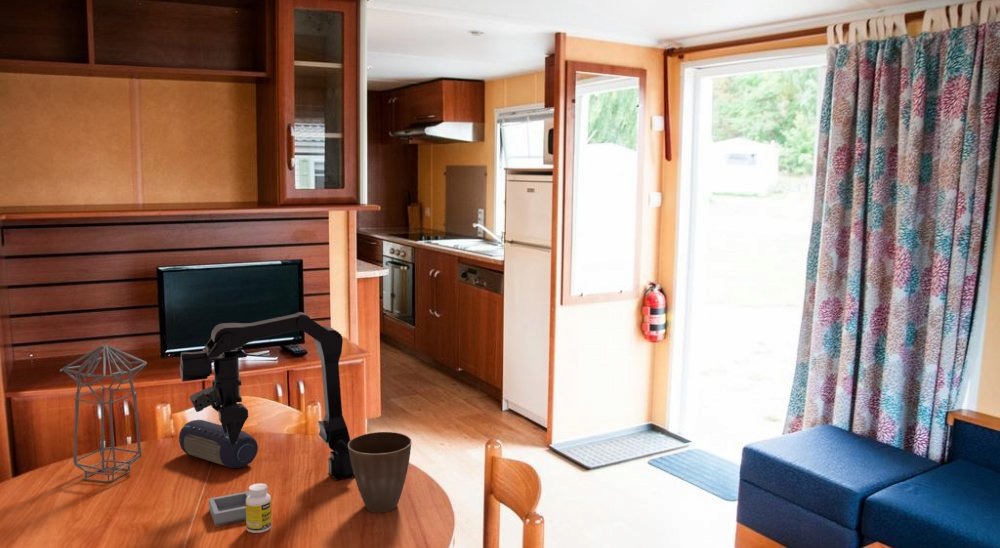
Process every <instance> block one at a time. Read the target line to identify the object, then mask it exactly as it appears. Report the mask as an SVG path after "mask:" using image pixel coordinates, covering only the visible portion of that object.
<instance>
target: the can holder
mask: <svg viewBox="0 0 1000 548" xmlns="http://www.w3.org/2000/svg"><path fill="white" fill-rule="evenodd" d="M248 496H249V490H247V491H241V492H237V493H231V494H226V495H221V496H215V497H211V498H208V511H209V513H210V516H211V519H212V521H213V524H214V526H215V527H219V526H220V527H221V526H226V525H230V524H234V523H239V522H244V521H246V498H247V497H248Z"/></svg>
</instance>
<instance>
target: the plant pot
mask: <svg viewBox="0 0 1000 548" xmlns="http://www.w3.org/2000/svg"><path fill="white" fill-rule="evenodd" d="M412 442H413V441H412V438H411V437H410V436H408V435H406V434H405V433H404V434H403V433H400V432H392V431H376V432H370V433H365V434H360V435H358V436H355V437H353V438H351V440H350V441H349V443H348V450H349V456H350V461H351V465H352V469H353V473H354V477H353V478H354V479H355V482H356V485H357V488H358V492H359V494H360V497H361V499H362V502H363V504H364V506H365V508H366V510H368V511H370V512H372V513H378V514H381V513H388V512H391V511H393V510H395V509H396V508H397V506H398V504H399V502H400V499H401V496H402V494H403V493H402V492H403V489H404V486H405V482H406V478H407V474H408V470H409V469H408V468H409V463H410V458H411V450H412Z"/></svg>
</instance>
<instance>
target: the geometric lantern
mask: <svg viewBox="0 0 1000 548" xmlns="http://www.w3.org/2000/svg"><path fill="white" fill-rule="evenodd" d="M101 352H102V354H103V355H102V357H101V356H100V355H101ZM125 357H127V358H130V359H132V360H134V361H131V362H130V361H129V360H128V359H127V358H125ZM86 358H87V359H86ZM84 359H86V360H85V361H83V363H81V365H75V364H77V363H78V362H81V361H82V360H84ZM101 360H102V369H103V370H102V374H101V373H100V374H93V373H94V372H95V370H96V369H97V367H98V365H99V363H100V362H101ZM106 360H107V361H106ZM106 362H107V363H108V368H109V375H106V372H107V371H106V370H107V369H106V368H107V367H106ZM117 363H120V364H121V368H120V367H119V366H118V364H117ZM126 364H127V365H129V367H128V366H127V365H126ZM134 364H135V365H136V364H140V365H138V366H135V367H133V365H134ZM147 364H148V363H147V361H146V360H143V359H140V358H139V357H136V356H134V355H131V354H130V353H127V352H124V351H122V350H121V349H117V348H115V347H113V346H111V345H108V344H101V345H100V346H98V347H97V348H94V349H93V350H91V351H89V352H88V353H86V354H84V355H83V356H81V357H79V358H77V359H76V360H74V361H72V362H71V363H69V364H67V365H65V366H64V367H62V368H60V369H59V373H62V372H64V373H65V374H67V376H69V377H70V378H71V379H72V380H74V382H76V385H77V386H76V387H77V388H76V395H75V398H74V399H73V400H74V443H73V444H74V445H73V458H72V459H73V460H72V461H73V465H74V466H75V467H77V468H78V469H79V470H82V471H83V472H84V478H83V479H84V480H85V481H89V482H90V481H92V482H99V483H100V482H102V483H111V482H114V481H115V480H117V479H119V478H121V477H123V476H124V475H127V474H128V473H130V472H131V465H133V464H134V463H135V462H136V461H138V460H139V459H140V458H142V456H143V455H142V447H141V446H142V445H141V437H140V430H139V427H140V426H139V415H138V401H137V392H136V389H135V385H134V382H133V379H134V378H135V377H136V376H137V374H138V373H139V372H141V371H142V369H144V368H145V366H147ZM73 365H75V366H73ZM111 365H113V366H114V368H115V369H116V371H117V372H112V367H111ZM86 367H87V371H86V372H85V373H83V372H82V371H84V369H85V368H86ZM132 367H133V368H132ZM124 368H125V369H126V370H127V371H126V370H124ZM74 369H78V370H74ZM72 374H74V375H75V376H74V375H72ZM132 374H133V375H132ZM123 375H128V376H129V377H128V379H126V380H124V381H123ZM87 377H88V378H91V377H93V378H94V380H92V381H91V382H89V383H88V382H87ZM106 377H107V378H110V377H111V378H114V379H113V380H112V382H111V383H110V385H109V386H108V387H105V386H104V385H103V384H102V382H100V381H99V380H101V379H103V378H106ZM119 377H120V378H119ZM82 378H83V379H84V383H82V382H81V380H82ZM116 381H117V382H118V383H119V384H118V386H117V387H116V388H113V385H114V383H116ZM96 382H98V384H99V385H100V386H101V387H100V388H98V389H93V387H92V386H91V385H92V384H95V383H96ZM126 383H129V386H130V389H129V390H128V389H121V388H120V387H121V385H124V384H126ZM82 386H86V387H88V389H89V391H88V392H86V393H82V394H80V393H81V390H82ZM107 390H109V392H108V393H109V394H108V395H109V399H108V401H105V391H107ZM98 391H101V399H100V397H99V396H98V395H97V393H96V392H98ZM112 391H114V392H113V393H112ZM117 391H121V392H126V393H127V392H128V393H132V394H129V395H124V396H123V397H120V398H118V399H115V400H113V397H114V395H116V393H117ZM89 394H93V395H94V397H95V398H96V400H97V401H93V400H86V399H80V398H81V397H83V396H86V395H89ZM129 397H132V401H133V410H134V418H135V429H136V441H137V442H136V444H137V450H134V449H133V450H132V449H125V448H119V447H115V437H114V436H115V435H114V426H113V425H114V424H113V403H115V402H118V401H121V400H123V399H126V398H129ZM80 402H86V403H90V404H91V403H92V404H99V405H100V420H101V421H100V441H99V443H100V448H99V449H96V450H94V451H91V452H90V453H87V454H84V455H83V456H80V457H78V458H77V456H78V455H77V452H78V429H79V428H78V427H79V412H80V411H79V410H80ZM104 405H108V412H109V413H108V414H109V425H110V443H111V444H110V447H105V430H104V428H105V427H104V426H105V425H104V424H105V423H104V421H105V419H104V418H105V417H104V413H105V411H104V408H105V406H104ZM105 450H106V451H107V450H109V452H108V454H107V457H106V459H105ZM116 451H121V452H128V453H134V454H135V455H134V456H133V457H132V458H130V459H129V460H126V461H119V460H116ZM99 452H100V453H99ZM97 453H99V454H100V456H101V460H100V461H99V462H97V463H95V464H94V465H88V464H83V463H78V462H79V461H80V460H83V459H84V458H87V457H90V456H91V455H94V454H97ZM111 453H112V460H109V459H110V456H111ZM109 463H113V466H109ZM118 463H119V464H118ZM100 464H101V467H96V466H98V465H100ZM105 465H106V466H105ZM124 465H125V466H124ZM121 466H123V467H121ZM85 468H86V469H85ZM91 469H92V470H95V471H91ZM109 470H112V471H111V473H109V472H107V471H109ZM123 470H124V471H126V472H124V473H122V474H120V475H118V476H117V477H115V474H116V473H118V472H120V471H123ZM100 471H101V472H100ZM102 472H103V473H102ZM88 473H89V475H88ZM94 474H97V475H102V476H107V480H106V479H105V480H104V479H94V478H89V477H91V476H93V475H94ZM110 476H111V477H112V479H110Z"/></svg>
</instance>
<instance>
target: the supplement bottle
mask: <svg viewBox="0 0 1000 548" xmlns="http://www.w3.org/2000/svg"><path fill="white" fill-rule="evenodd" d="M268 490H269V489H268V484H266V483H253V484H251V485H249V487H248V491H249V496H248V497H247V498H246V520H245V521H246V531H248V532H250V533H251V534H261V533H265V532H267V531H269V530H270V529H271V528H272V520H273V519H272V497H271V495H270V494H269V493H268Z"/></svg>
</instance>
